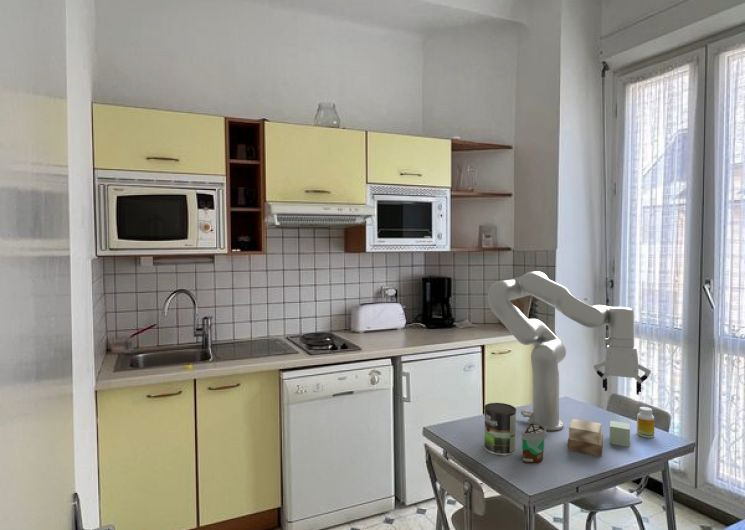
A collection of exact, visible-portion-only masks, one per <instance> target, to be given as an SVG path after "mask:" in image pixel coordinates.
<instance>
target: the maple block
mask: <svg viewBox="0 0 745 530" xmlns="http://www.w3.org/2000/svg"><path fill="white" fill-rule="evenodd" d="M601 435H602V423H601V422H594V421H589V420H588V421H587V420H583V419H576V418H572V419H571V421H570V424H569V427H568V438H569V439H571V440H576V441H581V442H587V443H592V444H597V445H599V442H600V438H601Z"/></svg>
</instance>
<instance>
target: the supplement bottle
mask: <svg viewBox="0 0 745 530" xmlns="http://www.w3.org/2000/svg"><path fill="white" fill-rule="evenodd" d="M638 409H639V412H638V413H637V415H636V433H637V436H640V437H643V438H646V439H647V438H649V439H650V438H652V439H653V438H654V437H655V416H654V415H653V409H652V408H651V407H647V406H640V407H639V408H638Z"/></svg>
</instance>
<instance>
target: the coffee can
mask: <svg viewBox="0 0 745 530" xmlns="http://www.w3.org/2000/svg"><path fill="white" fill-rule="evenodd" d="M483 408H484V439H483V440H484V442H483V443H484V444H483V445H484V446H483V447H484V450H485V451H486V452H487V453H489V454H492V455H496V456H501V457H502V456H503V457H504V456H506V457H507V456H512V455H514V454H516V433H517V432H516V428H517V427H516V423H517V421H516V420H517V416H516V415H517V408H516V407H515V406H514V405H511V404H507V403H504V402H502V403H501V402H490V403H486V404H485V405H484V407H483Z"/></svg>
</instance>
